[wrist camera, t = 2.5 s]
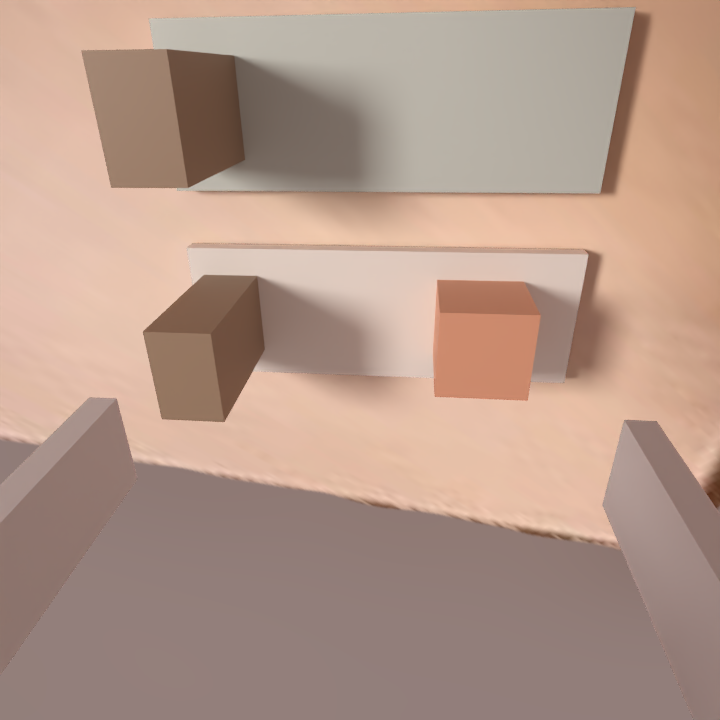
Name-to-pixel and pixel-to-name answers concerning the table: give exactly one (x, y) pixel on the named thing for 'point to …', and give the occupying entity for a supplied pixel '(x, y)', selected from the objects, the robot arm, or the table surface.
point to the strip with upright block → (365, 102)
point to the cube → (484, 339)
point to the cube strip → (335, 315)
